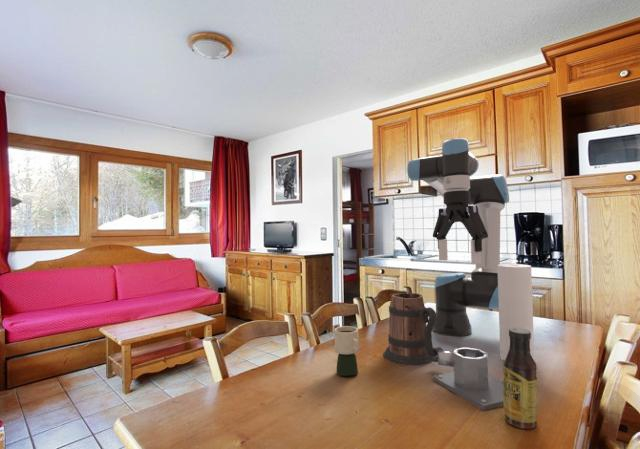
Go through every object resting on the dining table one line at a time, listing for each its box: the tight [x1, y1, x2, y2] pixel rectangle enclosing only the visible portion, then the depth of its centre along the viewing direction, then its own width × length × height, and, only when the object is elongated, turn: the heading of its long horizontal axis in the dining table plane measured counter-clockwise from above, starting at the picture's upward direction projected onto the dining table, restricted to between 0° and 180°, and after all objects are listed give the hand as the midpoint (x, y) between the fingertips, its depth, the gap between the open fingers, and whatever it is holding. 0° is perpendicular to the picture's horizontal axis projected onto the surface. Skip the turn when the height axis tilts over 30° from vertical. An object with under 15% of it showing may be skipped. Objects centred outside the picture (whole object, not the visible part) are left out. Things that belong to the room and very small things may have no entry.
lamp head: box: [437, 347, 489, 391], centre depth 92 cm, size 12×8×8 cm, turn 66°
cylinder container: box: [497, 263, 535, 361], centre depth 111 cm, size 9×9×30 cm
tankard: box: [382, 292, 444, 367], centre depth 113 cm, size 24×17×20 cm
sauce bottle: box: [502, 328, 538, 430], centre depth 74 cm, size 6×6×20 cm
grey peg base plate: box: [432, 371, 504, 411], centre depth 91 cm, size 18×14×6 cm
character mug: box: [333, 325, 360, 377], centre depth 102 cm, size 11×7×13 cm, turn 30°
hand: (458, 261), depth 104 cm, fingers open, 13 cm apart
